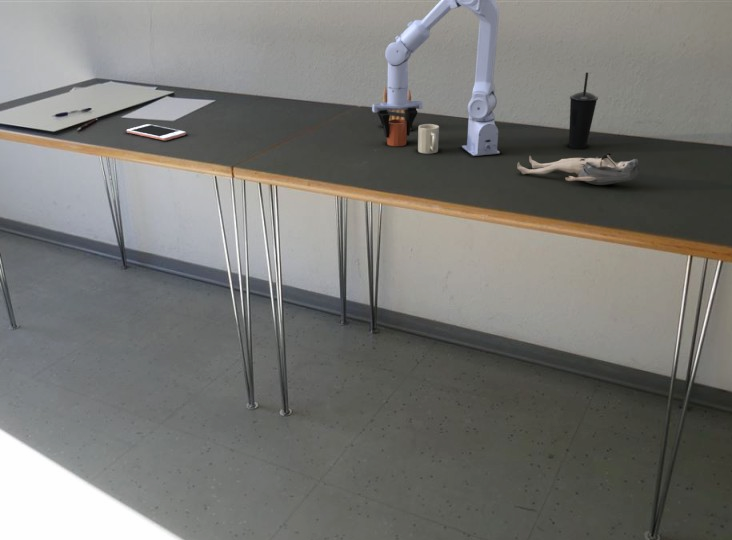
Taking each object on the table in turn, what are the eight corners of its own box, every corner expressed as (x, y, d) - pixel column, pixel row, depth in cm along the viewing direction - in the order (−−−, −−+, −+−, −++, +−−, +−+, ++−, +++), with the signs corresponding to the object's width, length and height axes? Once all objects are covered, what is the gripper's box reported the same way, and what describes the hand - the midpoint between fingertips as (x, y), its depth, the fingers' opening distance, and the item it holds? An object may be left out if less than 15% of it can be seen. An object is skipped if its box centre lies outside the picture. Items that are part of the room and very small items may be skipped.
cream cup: (415, 149, 230) (415, 124, 227) (434, 147, 232) (435, 123, 228) (424, 156, 224) (425, 131, 220) (443, 154, 225) (444, 130, 222)
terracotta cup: (409, 145, 234) (409, 122, 231) (390, 147, 233) (390, 124, 229) (400, 138, 240) (401, 116, 237) (382, 140, 239) (382, 118, 236)
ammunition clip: (412, 130, 249) (413, 89, 242) (409, 131, 247) (410, 90, 241) (384, 125, 254) (384, 85, 248) (381, 126, 253) (381, 86, 247)
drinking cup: (592, 150, 226) (602, 75, 215) (564, 149, 227) (573, 75, 217) (590, 143, 232) (600, 70, 222) (563, 142, 234) (572, 69, 223)
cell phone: (164, 141, 242) (164, 138, 242) (126, 132, 252) (125, 129, 251) (186, 134, 248) (186, 131, 248) (148, 126, 258) (147, 123, 257)
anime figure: (531, 148, 212) (646, 149, 195) (532, 176, 216) (644, 180, 198) (515, 157, 206) (631, 159, 188) (516, 185, 209) (631, 190, 192)
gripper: (417, 82, 232) (416, 130, 239) (369, 86, 229) (369, 134, 236) (425, 87, 226) (423, 136, 233) (375, 91, 223) (376, 140, 231)
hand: (397, 135), depth 235 cm, fingers closed on terracotta cup, 6 cm apart
